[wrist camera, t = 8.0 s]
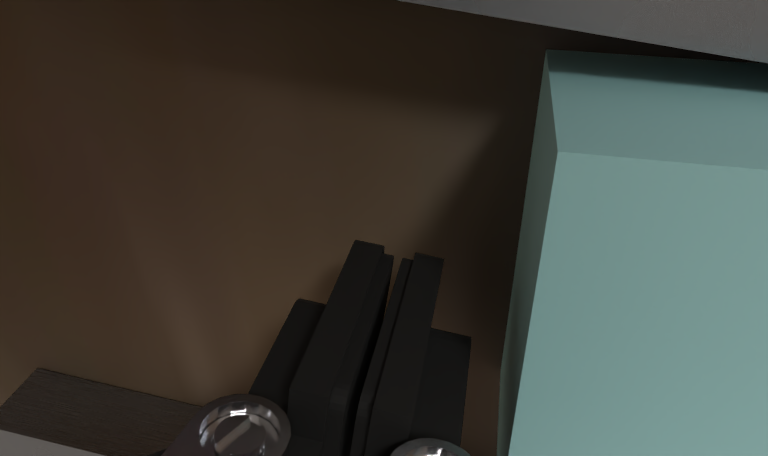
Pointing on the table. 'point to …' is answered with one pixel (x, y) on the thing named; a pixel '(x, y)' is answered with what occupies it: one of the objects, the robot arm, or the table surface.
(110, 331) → the table surface
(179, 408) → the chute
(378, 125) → the table surface
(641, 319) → the block
